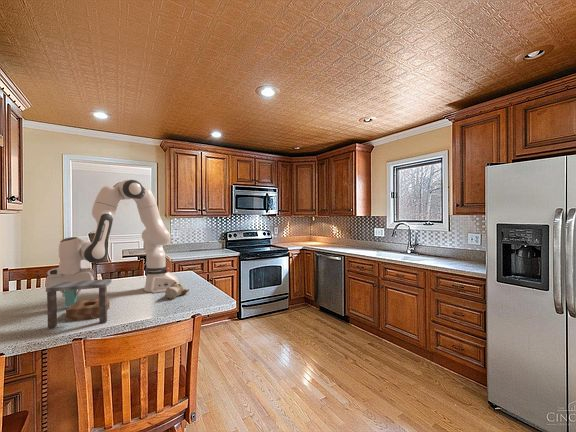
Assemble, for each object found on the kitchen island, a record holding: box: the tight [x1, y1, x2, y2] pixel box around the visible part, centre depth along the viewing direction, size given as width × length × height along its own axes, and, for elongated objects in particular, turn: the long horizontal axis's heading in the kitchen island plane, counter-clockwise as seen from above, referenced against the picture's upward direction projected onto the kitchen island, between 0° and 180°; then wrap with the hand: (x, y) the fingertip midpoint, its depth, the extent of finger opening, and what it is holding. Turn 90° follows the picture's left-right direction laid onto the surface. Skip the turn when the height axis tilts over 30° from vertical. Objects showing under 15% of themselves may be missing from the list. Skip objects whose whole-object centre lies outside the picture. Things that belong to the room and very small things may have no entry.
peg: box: [64, 290, 78, 307], centre depth 150 cm, size 4×4×11 cm
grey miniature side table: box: [45, 278, 112, 329], centre depth 137 cm, size 22×22×18 cm
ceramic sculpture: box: [164, 282, 190, 300], centre depth 170 cm, size 11×9×15 cm
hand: (71, 295), depth 150 cm, fingers closed on peg, 4 cm apart
